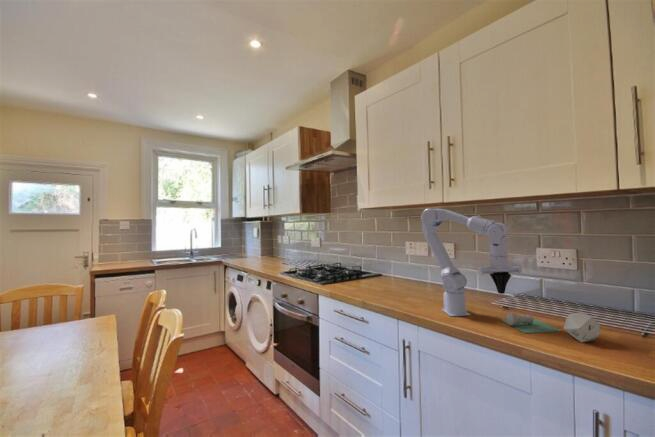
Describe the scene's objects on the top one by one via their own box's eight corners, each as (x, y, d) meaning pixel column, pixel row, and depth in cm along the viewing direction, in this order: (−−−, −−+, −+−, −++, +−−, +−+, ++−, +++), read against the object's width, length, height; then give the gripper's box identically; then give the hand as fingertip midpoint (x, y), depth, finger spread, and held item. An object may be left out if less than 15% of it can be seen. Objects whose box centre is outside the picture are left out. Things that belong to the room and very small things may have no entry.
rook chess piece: (506, 310, 107) (528, 310, 108) (504, 321, 108) (525, 321, 109) (514, 316, 103) (537, 317, 103) (512, 328, 104) (534, 328, 104)
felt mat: (500, 319, 113) (500, 319, 113) (532, 318, 113) (532, 317, 113) (524, 333, 99) (524, 332, 99) (561, 331, 99) (561, 330, 99)
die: (561, 342, 92) (579, 322, 87) (555, 320, 99) (572, 301, 93) (591, 353, 90) (612, 334, 85) (583, 330, 97) (602, 311, 91)
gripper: (484, 258, 107) (486, 296, 107) (525, 255, 107) (528, 294, 107) (475, 255, 114) (477, 292, 114) (513, 253, 114) (515, 290, 114)
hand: (501, 293), depth 111 cm, fingers closed
